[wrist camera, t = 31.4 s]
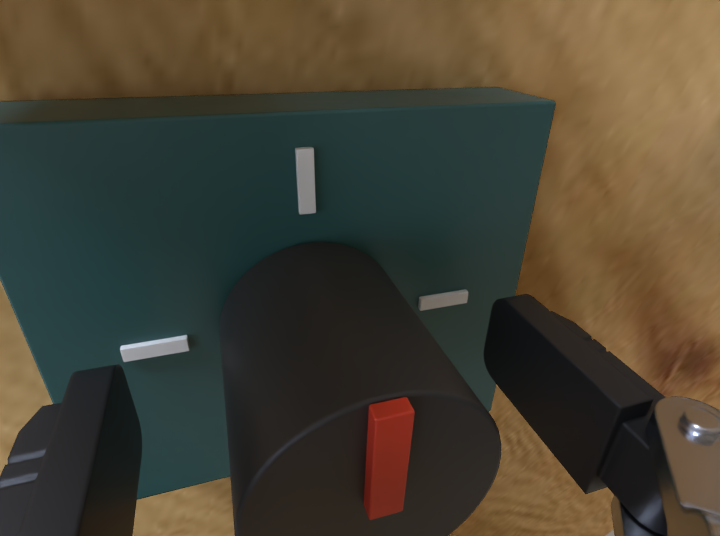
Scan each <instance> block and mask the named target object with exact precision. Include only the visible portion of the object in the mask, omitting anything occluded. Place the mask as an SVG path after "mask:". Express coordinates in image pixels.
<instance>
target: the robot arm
mask: <svg viewBox="0 0 720 536" xmlns="http://www.w3.org/2000/svg"><path fill="white" fill-rule="evenodd" d="M483 355H484V362H485V366H486V369H487V371H488V373H489V375H490V376H491V378H492V379H493V380H494V381H495V383H496V384H497V385H498V386H499V388H500V389H501V390H502V391H503V393H504V394H505V395H506V396H507V398H508V399H509V400H510V401H511V402H512V404H513V405H514V406H515V407H516V409H517V410H518V411H519V412H520V414H521V415H522V416H523V417H524V419H525V420H526V421H527V422H528V423H529V425H530V426H531V427H532V428H533V430H534V431H535V432H536V433H537V435H538V436H539V437H540V438H541V440H542V441H543V442H544V443H545V445H546V446H547V447H548V448H549V449H550V451H551V452H552V453H553V454H554V456H555V457H556V458H557V459H558V461H559V462H560V463H561V464H562V466H563V467H564V468H565V469H566V470H567V472H568V473H569V474H570V475H571V477H572V478H573V479H574V480H575V482H576V483H577V484H578V485H579V487H580V488H581V489H582V490H583V492H584V493H585V494H588V493H591V492H594V491H597V490H600V489H603V488H606V487H608V488H609V489H610V490H611V491H612V493H613V494H614V497H613V499H612V502H611V513H612V520H613V528H614V535H615V536H720V410H718V409H716V408H714V407H712V406H710V405H708V404H706V403H703V402H700V401H698V400H694V399H691V398H686V397H676V396H675V397H667V398H666V397H664V396H663V395H662V394H661V393H659V392H658V391H657V390H656V389H655V388H653V387H652V386H651V385H650V384H649V383H647V382H646V381H645V380H644V379H642V378H641V377H640V376H639V375H638V374H636V373H635V372H634V371H633V370H631V369H630V368H629V367H628V366H627V365H625V364H624V363H623V362H622V361H621V360H619V359H618V358H617V357H616V356H614V355H613V354H612V353H611V352H610V351H609V352H607V351H606V348H605V347H603V346H602V345H601V344H600V343H599V342H597V341H596V340H595V339H594V340H592V339H591V336H590V335H589V334H588V333H586V332H585V331H584V330H583V329H582V328H580V327H579V326H578V325H577V324H576V323H574V322H573V321H570V320H568V319H566V318H564V317H562V316H560V315H558V314H556V313H554V312H552V311H549V310H548V309H547V308H546V307H544V306H543V305H542V304H541V303H540V302H539V301H537V300H536V299H535V298H534V297H532V296H531V295H528V294H524V295H518V296H513V297H507V298H501V299H497V300H496V301H495V302H494V303H493V305H492V309H491V314H490V319H489V325H488V330H487V335H486V340H485V346H484V353H483ZM141 458H142V433H141V427H140V422H139V418H138V415H137V412H136V409H135V405H134V402H133V399H132V396H131V393H130V389H129V386H128V383H127V380H126V376H125V373H124V370H123V368H122V367H121V365H120V364H116V365H110V366H104V367H98V368H93V369H87V370H81V371H76V372H74V373H73V374H72V375H71V377H70V380H69V383H68V386H67V389H66V392H65V395H64V398H63V401H62V403H58V404H52V405H47V406H42V407H41V408H40V409H39V410H38V412H37V413H36V414H35V415H34V416H33V417H32V418H31V419H30V420H29V421H28V423H27V424H26V425H25V426H24V427H23V428H22V429H21V430H20V431H19V433H18V435H17V438H16V440H15V443H14V445H13V447H12V450H11V452H10V455H9V457H8V459H7V460H8V465H5V467H4V469H3V471H2V474H1V476H0V536H132V534H133V526H134V517H135V509H136V500H137V492H138V483H139V475H140V467H141Z"/></svg>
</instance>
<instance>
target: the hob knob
mask: <svg viewBox="0 0 720 536" xmlns="http://www.w3.org/2000/svg"><path fill="white" fill-rule="evenodd" d="M219 330H220V345H221V358H222V371H223V385H224V398H225V411H226V424H227V437H228V451H229V464H230V477H231V490H232V503H233V517H234V530H235V536H448V535H449V534H450V533H452V532H453V531H454V530H455V529H456V528H457V527H459V526H460V525H461V524H462V523H463V522H464V521H465V520H466V519H467V518H468V517H469V516H470V515H471V513H472V512H473V511H474V510H475V509H476V508H477V506H478V505H479V504H480V502H481V501H482V500H483V498H484V497H485V495H486V494H487V492H488V491H489V489H490V487H491V485H492V483H493V481H494V479H495V477H496V474H497V471H498V468H499V464H500V458H501V441H500V435H499V430H498V428H497V426H496V423H495V421H494V419H493V418H492V417H491V415H490V414H489V412H488V411H487V410H486V408H485V407H484V406H483V404H482V403H481V401H480V400H479V399H478V397H477V396H476V395H475V393H474V392H473V391H472V389H471V388H470V386H469V385H468V384H467V382H466V381H465V380H464V378H463V377H462V376H461V374H460V373H459V372H458V370H457V369H456V367H455V366H454V365H453V363H452V362H451V361H450V359H449V358H448V357H447V355H446V354H445V352H444V351H443V350H442V348H441V347H440V346H439V344H438V343H437V342H436V340H435V339H434V337H433V336H432V335H431V333H430V332H429V331H428V329H427V328H426V327H425V325H424V324H423V323H422V321H421V320H420V318H419V317H418V316H417V314H416V313H415V312H414V310H413V309H412V308H411V306H410V305H409V303H408V302H407V301H406V299H405V298H404V297H403V295H402V294H401V293H400V291H399V290H398V288H397V287H396V286H395V284H394V283H393V282H392V280H391V279H390V278H389V276H388V275H387V274H386V272H385V271H384V269H383V268H382V267H381V266H380V265H379V264H378V263H377V262H376V261H375V260H374V259H372V258H371V257H370V256H368V255H367V254H365V253H363V252H361V251H359V250H358V249H355V248H352V247H349V246H346V245H342V244H337V243H327V242H315V243H305V244H299V245H295V246H292V247H288V248H285V249H282V250H280V251H278V252H275V253H273V254H271V255H270V256H268V257H266V258H264V259H262V260H261V261H260V262H258V263H257V264H256V265H254V266H253V267H251V268H250V269H249V270H248V271H247V272H246V273H245V274H244V275H243V276H242V277H241V278H240V280H239V281H238V282H237V283H236V284H235V286H234V287H233V289H232V290H231V292H230V294H229V295H228V297H227V299H226V302H225V304H224V306H223V310H222V313H221V317H220V326H219Z"/></svg>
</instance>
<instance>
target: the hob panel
mask: <svg viewBox="0 0 720 536" xmlns="http://www.w3.org/2000/svg"><path fill="white" fill-rule="evenodd" d="M555 105H556V103H555V101H553V100H549V99H545V98H541V97H537V96H532V95H528V94H524V93H520V92H516V91H512V90H508V89H504V88H500V87H478V88H444V89H410V90H376V91H342V92H308V93H274V94H239V95H205V96H171V97H137V98H103V99H69V100H35V101H1V102H0V280H1V282H2V285H3V287H4V289H5V292H6V294H7V296H8V299H9V301H10V303H11V306H12V308H13V310H14V313H15V315H16V317H17V320H18V322H19V324H20V327H21V329H22V331H23V334H24V336H25V339H26V341H27V343H28V346H29V348H30V350H31V353H32V355H33V357H34V360H35V362H36V364H37V367H38V369H39V371H40V374H41V376H42V378H43V381H44V383H45V385H46V388H47V390H48V392H49V395H50V397H51V400H52V402H53V404H58V403H62V401H63V398H64V395H65V392H66V389H67V386H68V383H69V380H70V377H71V375H72V374H73V373H74V372H76V371H81V370H87V369H93V368H98V367H104V366H110V365H116V364H120V365H121V367H122V368H123V370H124V373H125V376H126V380H127V383H128V386H129V389H130V393H131V396H132V399H133V402H134V405H135V409H136V412H137V415H138V418H139V422H140V427H141V433H142V458H141V467H140V475H139V483H138V492H137V499H141V498H145V497H149V496H153V495H157V494H161V493H165V492H169V491H173V490H177V489H181V488H185V487H189V486H193V485H197V484H201V483H205V482H209V481H213V480H217V479H221V478H225V477H229V476H230V464H229V451H228V437H227V424H226V411H225V398H224V385H223V371H222V358H221V345H220V330H219V326H220V317H221V313H222V310H223V306H224V304H225V302H226V299H227V297H228V295H229V294H230V292H231V290H232V289H233V287H234V286H235V284H236V283H237V282H238V281H239V280H240V278H241V277H242V276H243V275H244V274H245V273H246V272H247V271H248V270H249V269H250V268H251V267H253V266H254V265H256V264H257V263H258V262H260V261H261V260H262V259H264V258H266V257H268V256H270V255H271V254H273V253H275V252H278V251H280V250H282V249H285V248H288V247H292V246H295V245H299V244H305V243H315V242H327V243H337V244H342V245H346V246H349V247H352V248H355V249H358V250H359V251H361V252H363V253H365V254H367V255H368V256H370V257H371V258H372V259H374V260H375V261H376V262H377V263H378V264H379V265H380V266H381V267H382V268H383V269H384V271H385V272H386V274H387V275H388V276H389V278H390V279H391V280H392V282H393V283H394V284H395V286H396V287H397V288H398V290H399V291H400V293H401V294H402V295H403V297H404V298H405V299H406V301H407V302H408V303H409V305H410V306H411V308H412V309H413V310H414V312H415V313H416V314H417V316H418V317H419V318H420V320H421V321H422V323H423V324H424V325H425V327H426V328H427V329H428V331H429V332H430V333H431V335H432V336H433V337H434V339H435V340H436V342H437V343H438V344H439V346H440V347H441V348H442V350H443V351H444V352H445V354H446V355H447V357H448V358H449V359H450V361H451V362H452V363H453V365H454V366H455V367H456V369H457V370H458V372H459V373H460V374H461V376H462V377H463V378H464V380H465V381H466V382H467V384H468V385H469V386H470V388H471V389H472V391H473V392H474V393H475V395H476V396H477V397H478V399H479V400H480V401H481V403H482V404H483V406H484V407H485V408H486V410H487V411H488V412H489V411H490V410H491V406H492V401H493V396H494V392H495V387H496V383H495V381H494V380H493V379H492V378H491V376H490V375H489V373H488V371H487V369H486V366H485V362H484V355H483V353H484V346H485V340H486V335H487V330H488V325H489V319H490V314H491V309H492V305H493V303H494V302H495V301H496V300H497V299H501V298H507V297H513V296H515V293H516V288H517V284H518V279H519V274H520V269H521V265H522V260H523V255H524V251H525V246H526V241H527V237H528V232H529V227H530V222H531V218H532V213H533V208H534V204H535V199H536V194H537V190H538V185H539V180H540V175H541V171H542V166H543V161H544V157H545V152H546V147H547V143H548V138H549V133H550V128H551V124H552V119H553V114H554V110H555Z"/></svg>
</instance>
